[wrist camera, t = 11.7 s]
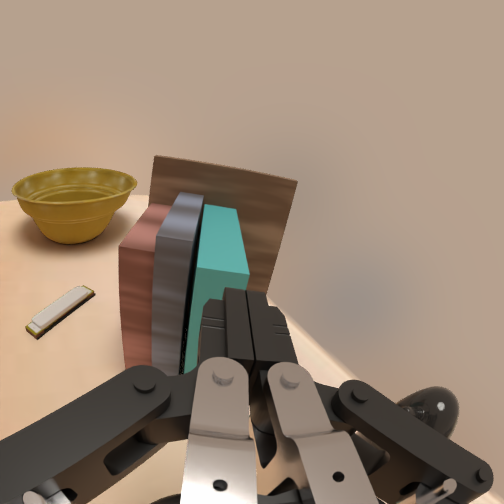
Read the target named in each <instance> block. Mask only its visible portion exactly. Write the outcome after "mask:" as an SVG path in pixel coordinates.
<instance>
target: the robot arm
mask: <svg viewBox="0 0 504 504" xmlns="http://www.w3.org/2000/svg"><path fill="white" fill-rule="evenodd" d="M289 335H290V333H289V330H288V328H287V323H286V319H285V316H284V315H283V314H282V312H281V311H280V310H279V309H278V308H277V307H274V306H268V302H267V298H266V294H265V292H259V291H251V290H243V289H236V288H229V287H225V288H224V292H223V297H222V300H218V299H211V298H210V299H209V300H208V301H207V302H206V303H205V305H204V306H203V311H202V318H201V324H200V331H199V338H198V352H197V366H196V367H195V368H194V369H193V370H191V371H190V372H188V373H185V374H182V375H176V376H167V375H166V374H165V373H164V372H162V371H161V370H159V369H158V368H155V367H153V366H148V365H137V366H133V367H130V368H128V369H126V370H125V371H123V372H121V373H120V374H118V375H116V376H115V377H113V378H111V379H110V380H108V381H106V382H105V383H103V384H101V385H100V386H98V387H96V388H94V389H93V390H91V391H89V392H88V393H86V394H84V395H82V396H81V397H79V398H77V399H76V400H74V401H72V402H70V403H69V404H67V405H65V406H63V407H62V408H60V409H58V410H56V411H54V412H53V413H51V414H49V415H47V416H46V417H44V418H42V419H40V420H38V421H36V422H35V423H33V424H31V425H29V426H27V427H25V428H24V429H22V430H20V431H18V432H16V433H14V434H12V435H11V436H9V437H7V438H5V439H3V440H1V441H0V504H86V503H88V502H89V501H91V500H92V499H94V498H95V497H97V496H98V495H100V494H101V493H103V492H104V491H106V490H107V489H108V488H110V487H111V486H113V485H114V484H116V483H117V482H118V481H120V480H121V479H122V478H124V477H125V476H126V475H128V474H129V473H130V472H132V471H133V470H134V469H136V468H137V467H138V466H140V465H141V464H142V463H144V462H145V461H146V460H147V459H149V458H150V457H151V456H152V455H154V454H155V453H156V452H157V451H159V450H160V449H161V448H162V447H164V446H165V445H166V444H167V443H168V442H173V441H179V440H185V439H188V444H187V451H186V459H185V467H184V476H183V485H182V494H176V495H171V496H167V497H164V498H161V499H159V500H157V501H155V502H152V503H151V504H385V503H384V502H382V501H381V500H379V499H378V498H380V499H382V500H383V501H385V502H386V503H388V504H469V503H470V502H471V501H473V500H475V499H476V498H478V497H480V496H481V495H483V494H484V493H486V492H487V491H489V489H490V488H491V486H492V484H493V472H492V469H491V468H490V466H489V465H488V464H487V463H486V462H485V461H483V460H481V459H480V458H478V457H477V456H475V455H473V454H472V453H470V452H469V451H467V450H465V449H464V448H462V447H460V446H459V445H457V444H456V443H454V442H453V441H451V440H450V439H448V438H446V437H445V436H443V435H442V434H440V433H439V432H437V431H436V430H434V429H433V428H431V427H429V426H428V425H426V424H425V423H423V422H422V421H420V420H419V419H417V418H416V417H414V416H413V415H411V414H410V413H409V412H407V411H406V410H404V409H403V408H401V407H400V406H398V405H397V404H395V403H394V402H392V401H391V400H389V399H388V398H387V397H385V396H384V395H382V394H381V393H379V392H378V391H376V390H375V389H374V388H372V387H371V386H370V385H368V384H366V383H364V382H362V381H359V380H348V381H345V382H344V383H342V385H341V386H340V387H339V388H335V387H331V386H327V385H323V384H319V383H317V382H314V381H313V379H312V377H311V375H310V374H309V372H308V371H307V370H306V369H304V368H303V367H301V366H300V365H299V364H298V361H297V357H296V354H295V350H294V347H293V343H292V340H291V336H289ZM249 405H250V415H249ZM356 431H358V432H360V433H361V434H363V435H364V436H365V437H367V438H368V439H370V440H371V441H372V442H374V443H375V444H377V445H378V446H380V447H381V448H382V449H384V451H382V450H378V449H376V448H375V447H373V446H372V445H371V444H369V443H368V442H366V441H365V440H364V439H362V438H361V437H359V436H358V435H357V434H355V432H356ZM256 472H257V476H256ZM376 496H377V497H378V498H377V497H376Z"/></svg>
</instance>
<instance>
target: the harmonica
mask: <svg viewBox="0 0 504 504" xmlns="http://www.w3.org/2000/svg"><path fill="white" fill-rule="evenodd" d="M94 296H95V293H94V291H93V290H91V289H89V288H87V287H86V286H84V285H83V286H81V287H80V286H77V287H75V288H74V289H72V290H70V291H69V292H68V293H66V294H65V295H63V296H62V297H60V298H59V299H57V300H56V301H55V302H53V303H52V304H50V305H49V306H47V307H46V308H45V309H43V310H42V311H40V312H39V313H38V314H36V315H35V316H34V317H33V318H32V322H31V323H29V324H28V325H27V326H26V327H25V328H26V331H27V332H28V333H30V334H31V335H32V336H33V337H34V338H36V339H37V340H38V339H39V338H41V337H42V336H43V335H44V334H46V333H47V332H48V331H49V330H51V329H52V328H53V327H54V326H56V325H57V324H58V323H60V322H61V321H62V320H63V319H65V318H66V317H67V316H69V315H70V314H71V313H72V312H74V311H75V310H76V309H78V308H79V307H80V306H82V305H83V304H84V303H86V302H87V301H88V300H90V299H91V298H92V297H94Z"/></svg>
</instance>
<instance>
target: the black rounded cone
mask: <svg viewBox="0 0 504 504" xmlns="http://www.w3.org/2000/svg"><path fill="white" fill-rule="evenodd" d="M395 404H397V405H398V406H400V407H401V408H403V409H404V410H406V411H407V412H409V413H410V414H411V415H413V416H414V417H416V418H417V419H419V420H420V421H422V422H423V423H425V424H426V425H428V426H429V427H431V428H433V429H434V430H436V431H437V432H439V433H440V434H442V435H443V436H445V437H446V438H448V439H450V438H451V436H452V434H453V431H454V429H455V427H456V424H457V420H458V416H459V403H458V400H457V398H456V397H455V395H454V394H453V393H452V392H451V391H450V390H448V389H446V388H444V387H438V386H435V387H429V388H426V389H422V390H420V391H417V392H415V393H413V394H411V395H409V396H407V397H405V398H404V399H402V400H400V401H398V402H397V403H395ZM356 434H357V435H358V436H359V437H361V438H362V439H364V440H365V441H366V442H368V443H369V444H371V445H372V446H373V447H375V448H376V449H378V450H382V451H384V449H382V448H381V447H380V446H378V445H377V444H375V443H374V442H372V441H371V440H370V439H368V438H367V437H365V436H364V435H363V434H361V433H360V432H357V433H356Z"/></svg>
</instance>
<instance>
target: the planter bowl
mask: <svg viewBox="0 0 504 504" xmlns="http://www.w3.org/2000/svg"><path fill="white" fill-rule="evenodd" d="M136 186H137V181H136V179H134V178H133V177H132V176H130V175H128V174H126V173H122V172H119V171H115V170H109V169H101V168H64V169H56V170H49V171H44V172H40V173H37V174H33V175H30V176H28V177H26V178H23V179H22V180H20V181H18V182H17V183H16V184H15V185H14V186H13V188H12V193H13V195H14V196H16V197H17V200H18V202H19V204H20V206H21V208H22V210H23V211H24V212H25V213H26V214H28V215H30V216H31V217H33V219H34V221H35V223H36V225H37V226H38V228H39V229H40V230H41V232H42V233H43V234H44V235H45V236H46V237H47V238H49V239H51V240H53V241H55V242H58V243H63V244H77V243H82V242H86V241H89V240H91V239H93V238H95V237H96V236H97V235H99V234H101V233H102V232H103V231H104V229H105V228H106V227H107V225H108V223H109V222H110V220H111V218H112V216H113V214H114V212H115V211H116V210H117V209H119V208H120V207H122V206H123V205H124V204H125V202H126V201H127V199H128V197H129V195H130V192H131V191H132V190H133V189H134V188H135V187H136Z"/></svg>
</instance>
